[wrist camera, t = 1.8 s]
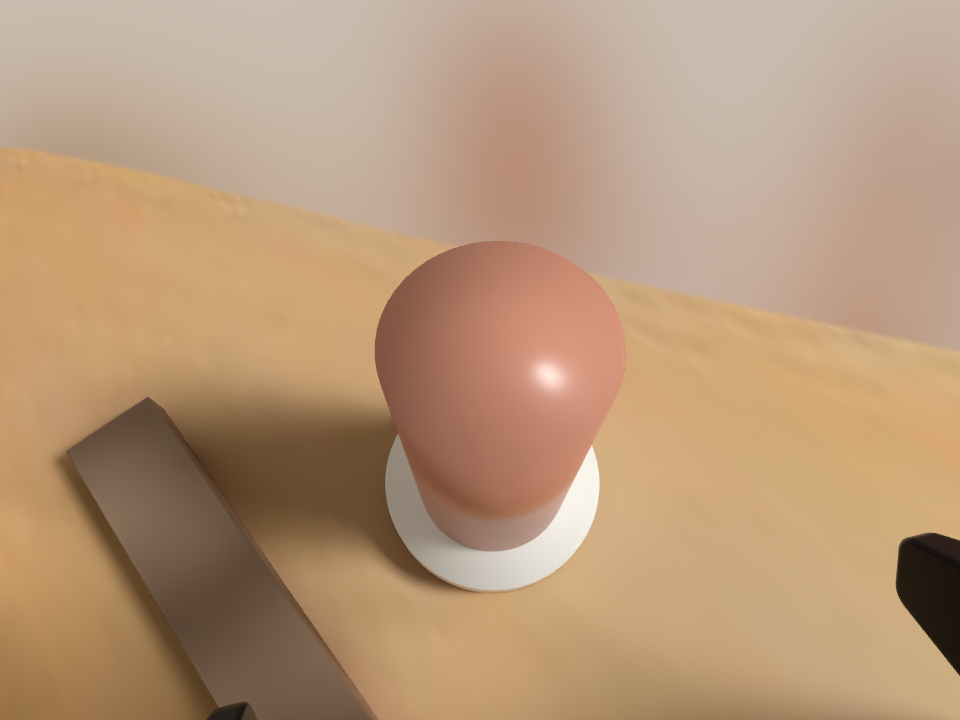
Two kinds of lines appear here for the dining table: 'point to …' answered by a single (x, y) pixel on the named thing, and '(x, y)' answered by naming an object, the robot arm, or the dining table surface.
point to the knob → (496, 410)
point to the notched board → (210, 574)
